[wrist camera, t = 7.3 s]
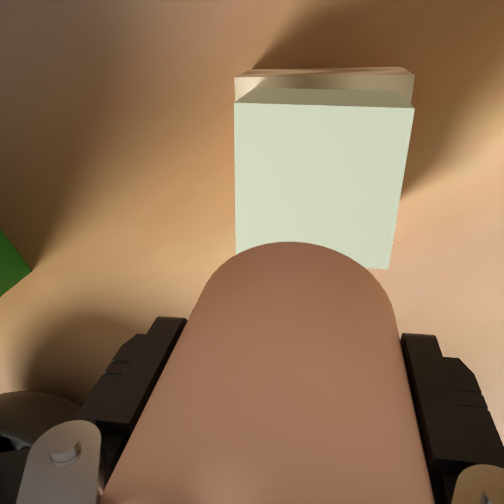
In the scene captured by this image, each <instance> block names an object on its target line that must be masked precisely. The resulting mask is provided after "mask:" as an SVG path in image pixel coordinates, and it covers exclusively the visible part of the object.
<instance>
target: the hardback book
mask: <svg viewBox="0 0 504 504" xmlns="http://www.w3.org/2000/svg"><path fill="white" fill-rule="evenodd" d="M30 272H32V271H31V269H30V268H29V267H28V265H27V264H26V263H25V261H24V260H23V259H22V257H21V256H20V255H19V253H18V252H17V251H16V249H15V248H14V247H13V245H12V244H11V243H10V241H9V240H8V239H7V237H6V236H5V235H4V233H3V232H2V231H1V229H0V296H2V295H3V294H4V293H5V292H7V291H8V290H9V289H10V288H12V287H13V286H14V285H15V284H17V283H18V282H19V281H20V280H22V279H23V278H24V277H25V276H27V275H28V274H29V273H30Z"/></svg>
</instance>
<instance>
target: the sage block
mask: <svg viewBox="0 0 504 504" xmlns="http://www.w3.org/2000/svg"><path fill="white" fill-rule="evenodd" d="M414 111H415V108H414V107H413V106H412V105H411V104H410V103H409V102H408V101H407V100H406V99H405V98H404V97H403V96H402V95H401V94H400V93H399V92H398V91H376V90H336V89H297V88H257V87H255V88H253V89H252V90H251V91H249V92H248V93H247V94H245V95H244V96H243V97H241V98H240V99H238V100H237V101H236V102H234V141H235V216H236V255H237V254H239V253H240V252H243V251H245V250H247V249H250V248H252V247H256V246H259V245H263V244H268V243H275V242H304V243H311V244H315V245H320V246H324V247H327V248H330V249H333V250H335V251H338V252H340V253H342V254H344V255H346V256H348V257H350V258H351V259H353V260H354V261H356V262H357V263H359V264H360V265H362V266H363V267H364V268H376V269H388V267H389V261H390V255H391V249H392V243H393V237H394V231H395V225H396V219H397V213H398V207H399V201H400V195H401V189H402V183H403V177H404V171H405V165H406V159H407V153H408V147H409V141H410V135H411V129H412V123H413V117H414Z"/></svg>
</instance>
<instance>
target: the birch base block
mask: <svg viewBox="0 0 504 504" xmlns="http://www.w3.org/2000/svg"><path fill="white" fill-rule="evenodd" d="M414 79H415V74H413V73H411V72H409V71H408V70H406V69H404V68H402V67H357V68H303V69H251V70H249V71H247V72H245V73H243V74H241V75H239V76H236V77H234V81H235V102H236V101H237V100H238V99H240V98H241V97H243V96H244V95H245V94H247V93H248V92H249V91H251V90H252V89H253V88H255V87H257V88H297V89H336V90H376V91H398V92H399V93H400V94H401V95H402V96H403V97H404V98H405V99H406V100H407V101H408V102H409V103H410V104H411V102H412V94H413V87H414ZM395 227H396V225H395ZM394 235H395V231H394ZM393 242H394V237H393Z"/></svg>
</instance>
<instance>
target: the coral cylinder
mask: <svg viewBox="0 0 504 504" xmlns="http://www.w3.org/2000/svg"><path fill="white" fill-rule="evenodd" d="M100 502H101V504H435V501H434V496H433V492H432V487H431V482H430V478H429V473H428V468H427V464H426V459H425V454H424V450H423V445H422V440H421V436H420V431H419V426H418V422H417V417H416V412H415V408H414V403H413V398H412V394H411V389H410V384H409V380H408V375H407V370H406V366H405V361H404V356H403V352H402V347H401V343H400V338H399V333H398V329H397V324H396V319H395V315H394V311H393V308H392V304H391V302H390V300H389V298H388V296H387V294H386V292H385V291H384V289H383V288H382V286H381V285H380V283H379V282H378V281H377V280H376V279H375V277H374V276H373V275H372V274H371V273H370V272H369V271H368V270H366V269H365V268H364V267H363V266H362V265H360V264H359V263H357V262H356V261H354V260H353V259H351V258H350V257H348V256H346V255H344V254H342V253H340V252H338V251H335V250H333V249H330V248H327V247H324V246H320V245H315V244H311V243H304V242H275V243H268V244H263V245H259V246H256V247H252V248H250V249H247V250H245V251H243V252H240V253H239V254H237V255H235V256H233V257H232V258H230V259H229V260H227V261H226V262H225V263H224V264H222V265H221V266H220V267H219V268H218V269H217V270H216V271H215V272H214V273H213V274H212V276H211V277H210V279H209V280H208V282H207V283H206V285H205V287H204V289H203V291H202V293H201V295H200V297H199V299H198V301H197V303H196V305H195V307H194V309H193V311H192V313H191V315H190V317H189V319H188V321H187V323H186V325H185V327H184V329H183V331H182V333H181V336H180V338H179V340H178V342H177V344H176V346H175V348H174V350H173V352H172V354H171V356H170V358H169V360H168V362H167V364H166V366H165V368H164V370H163V372H162V374H161V376H160V378H159V380H158V382H157V384H156V386H155V388H154V390H153V392H152V394H151V396H150V398H149V400H148V402H147V404H146V406H145V408H144V410H143V412H142V414H141V416H140V418H139V420H138V422H137V424H136V426H135V429H134V431H133V433H132V435H131V437H130V439H129V441H128V443H127V445H126V447H125V449H124V451H123V453H122V455H121V457H120V459H119V461H118V463H117V465H116V467H115V469H114V471H113V473H112V475H111V477H110V479H109V481H108V483H107V485H106V487H105V490H104V492H103V494H102V496H101V500H100Z"/></svg>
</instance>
